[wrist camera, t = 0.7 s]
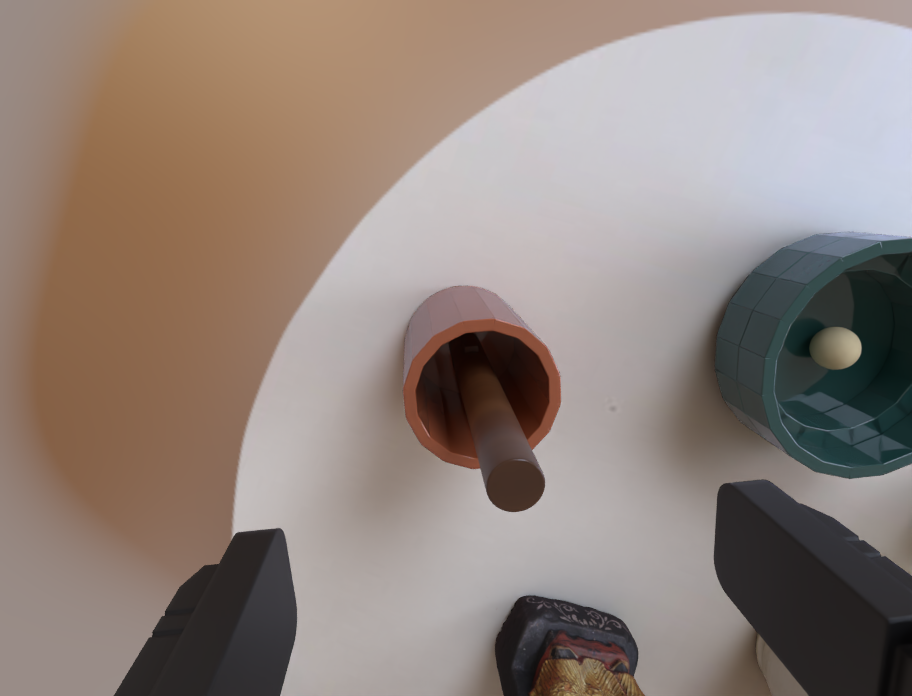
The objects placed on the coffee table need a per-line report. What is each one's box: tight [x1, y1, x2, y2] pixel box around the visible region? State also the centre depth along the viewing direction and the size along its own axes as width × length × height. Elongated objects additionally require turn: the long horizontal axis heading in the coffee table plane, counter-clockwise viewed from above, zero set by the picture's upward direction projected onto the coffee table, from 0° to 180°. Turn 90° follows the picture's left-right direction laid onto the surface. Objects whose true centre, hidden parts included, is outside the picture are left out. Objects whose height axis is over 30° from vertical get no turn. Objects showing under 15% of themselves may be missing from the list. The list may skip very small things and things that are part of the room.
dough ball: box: [809, 327, 862, 370], centre depth 36 cm, size 3×3×3 cm
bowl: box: [715, 232, 912, 479], centre depth 35 cm, size 15×15×6 cm
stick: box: [449, 333, 545, 512], centre depth 27 cm, size 3×2×18 cm
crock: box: [403, 286, 561, 469], centre depth 31 cm, size 8×8×10 cm
